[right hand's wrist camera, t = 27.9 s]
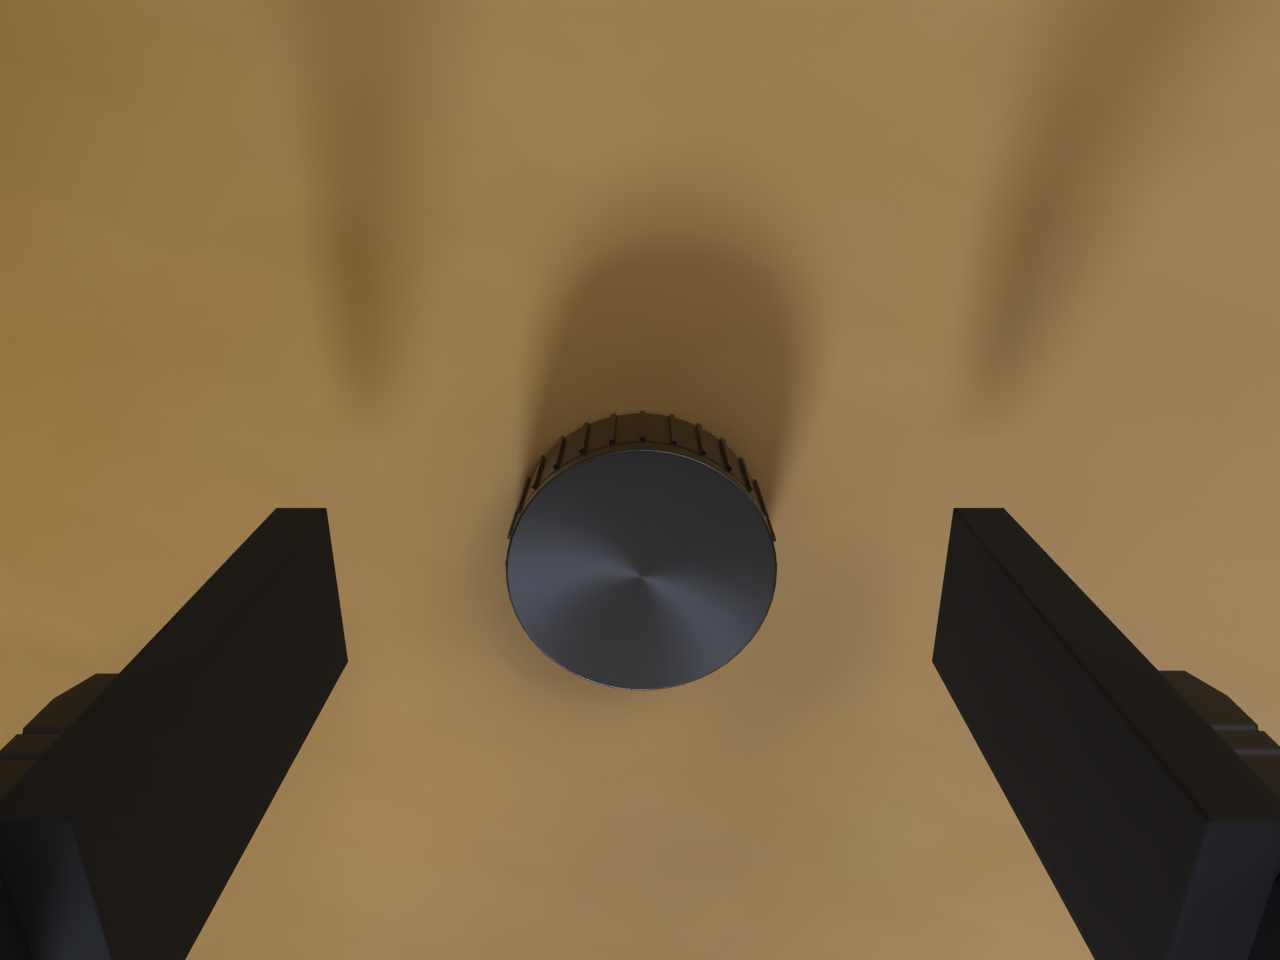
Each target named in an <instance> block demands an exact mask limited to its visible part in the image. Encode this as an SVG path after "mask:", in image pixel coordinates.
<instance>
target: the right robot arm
mask: <svg viewBox="0 0 1280 960" xmlns="http://www.w3.org/2000/svg"><path fill="white" fill-rule="evenodd" d="M347 662H348V658H347V651H346V644H345V637H344V630H343V623H342V616H341V609H340V602H339V594H338V587H337V580H336V573H335V566H334V559H333V552H332V545H331V538H330V531H329V524H328V517H327V509H326V508H276V509H275V510H274V511H273V512H272V513H271V514H270V515H269V517H268V518H267V519H266V520H265V521H264V522H263V523H262V524H261V525H260V526H259V527H258V528H257V529H256V530H255V531H254V532H253V533H252V534H251V535H250V536H249V538H248V539H247V540H246V541H245V542H244V543H243V544H242V545H241V546H240V547H239V548H238V549H237V550H236V551H235V552H234V553H233V554H232V555H231V556H230V558H229V559H228V560H227V561H226V562H225V563H224V564H223V565H222V566H221V567H220V568H219V569H218V570H217V571H216V572H215V573H214V574H213V575H212V576H211V577H210V579H209V580H208V581H207V582H206V583H205V584H204V585H203V586H202V587H201V588H200V589H199V590H198V591H197V592H196V593H195V594H194V595H193V596H192V597H191V599H190V600H189V601H188V602H187V603H186V604H185V605H184V606H183V607H182V608H181V609H180V610H179V611H178V612H177V613H176V614H175V615H174V616H173V617H172V618H171V620H170V621H169V622H168V623H167V624H166V625H165V626H164V627H163V628H162V629H161V630H160V631H159V632H158V633H157V634H156V635H155V636H154V637H153V638H152V640H151V641H150V642H149V643H148V644H147V645H146V646H145V647H144V648H143V649H142V650H141V651H140V652H139V653H138V654H137V655H136V656H135V657H134V658H133V659H132V661H131V662H130V663H129V664H128V665H127V666H126V667H125V668H124V669H123V670H122V671H121V672H120V673H119V674H95V675H93V676H91V677H90V678H88V679H86V680H84V681H83V682H81V683H79V684H78V685H76V686H74V687H73V688H71V689H69V690H68V691H66V692H64V693H62V694H61V695H59V696H57V697H56V698H54V699H53V700H52V701H51V702H50V703H49V704H48V705H47V706H46V707H45V708H43V709H42V710H41V711H40V712H39V713H38V714H37V715H36V716H35V717H34V718H33V719H32V720H31V721H30V722H29V723H28V724H27V725H26V726H25V727H24V728H23V733H22V734H17V735H16V736H15V737H14V738H13V739H12V740H11V741H10V742H9V743H8V744H7V745H6V746H5V747H4V748H3V749H2V750H0V960H185V959H186V957H187V955H188V954H189V952H190V950H191V948H192V946H193V944H194V943H195V941H196V939H197V937H198V935H199V933H200V932H201V930H202V928H203V926H204V924H205V922H206V921H207V919H208V917H209V915H210V913H211V911H212V910H213V908H214V906H215V904H216V902H217V900H218V899H219V897H220V895H221V893H222V891H223V889H224V888H225V886H226V884H227V882H228V880H229V878H230V877H231V875H232V873H233V871H234V869H235V867H236V866H237V864H238V862H239V860H240V858H241V856H242V855H243V853H244V851H245V849H246V847H247V845H248V844H249V842H250V840H251V838H252V836H253V834H254V833H255V831H256V829H257V827H258V825H259V823H260V822H261V820H262V818H263V816H264V814H265V812H266V811H267V809H268V807H269V805H270V803H271V801H272V800H273V798H274V796H275V794H276V792H277V790H278V789H279V787H280V785H281V783H282V781H283V779H284V778H285V776H286V774H287V772H288V770H289V768H290V767H291V765H292V763H293V761H294V759H295V757H296V756H297V754H298V752H299V750H300V748H301V746H302V745H303V743H304V741H305V739H306V737H307V735H308V734H309V732H310V730H311V728H312V726H313V724H314V723H315V721H316V719H317V717H318V715H319V713H320V712H321V710H322V708H323V706H324V704H325V702H326V701H327V699H328V697H329V695H330V693H331V691H332V690H333V688H334V686H335V684H336V682H337V680H338V679H339V677H340V675H341V673H342V671H343V669H344V668H345V666H346V664H347ZM932 662H933V664H934V666H935V668H936V669H937V671H938V673H939V675H940V677H941V679H942V680H943V682H944V684H945V686H946V688H947V690H948V691H949V693H950V695H951V697H952V699H953V701H954V702H955V704H956V706H957V708H958V710H959V712H960V713H961V715H962V717H963V719H964V721H965V723H966V724H967V726H968V728H969V730H970V732H971V734H972V735H973V737H974V739H975V741H976V743H977V745H978V746H979V748H980V750H981V752H982V754H983V756H984V757H985V759H986V761H987V763H988V765H989V767H990V768H991V770H992V772H993V774H994V776H995V778H996V779H997V781H998V783H999V785H1000V787H1001V789H1002V790H1003V792H1004V794H1005V796H1006V798H1007V800H1008V801H1009V803H1010V805H1011V807H1012V809H1013V811H1014V812H1015V814H1016V816H1017V818H1018V820H1019V822H1020V823H1021V825H1022V827H1023V829H1024V831H1025V833H1026V834H1027V836H1028V838H1029V840H1030V842H1031V844H1032V845H1033V847H1034V849H1035V851H1036V853H1037V855H1038V856H1039V858H1040V860H1041V862H1042V864H1043V866H1044V867H1045V869H1046V871H1047V873H1048V875H1049V877H1050V878H1051V880H1052V882H1053V884H1054V886H1055V888H1056V889H1057V891H1058V893H1059V895H1060V897H1061V899H1062V900H1063V902H1064V904H1065V906H1066V908H1067V910H1068V911H1069V913H1070V915H1071V917H1072V919H1073V921H1074V922H1075V924H1076V926H1077V928H1078V930H1079V932H1080V933H1081V935H1082V937H1083V939H1084V941H1085V943H1086V944H1087V946H1088V948H1089V950H1090V952H1091V954H1092V955H1093V957H1094V959H1095V960H1280V746H1279V745H1278V744H1277V743H1276V742H1275V741H1274V740H1272V739H1271V738H1270V737H1269V736H1268V735H1267V734H1266V733H1265V732H1264V731H1259V730H1258V725H1257V724H1256V723H1255V722H1254V721H1253V720H1252V719H1251V718H1250V717H1249V716H1248V715H1247V714H1246V713H1245V712H1244V711H1243V710H1242V709H1241V708H1239V707H1238V706H1237V705H1236V704H1235V703H1234V702H1233V701H1232V700H1231V699H1230V698H1229V697H1228V696H1227V695H1225V694H1223V693H1222V692H1220V691H1218V690H1217V689H1215V688H1213V687H1211V686H1210V685H1208V684H1206V683H1205V682H1203V681H1201V680H1200V679H1198V678H1196V677H1194V676H1193V675H1191V674H1189V673H1188V672H1186V671H1158V670H1157V669H1156V668H1155V667H1154V666H1153V665H1152V664H1151V663H1150V662H1149V661H1148V659H1147V658H1146V657H1145V656H1144V655H1143V654H1142V653H1141V652H1140V651H1139V650H1138V649H1137V648H1136V647H1135V646H1134V645H1133V644H1132V643H1131V642H1130V641H1129V639H1128V638H1127V637H1126V636H1125V635H1124V634H1123V633H1122V632H1121V631H1120V630H1119V629H1118V628H1117V627H1116V626H1115V625H1114V624H1113V623H1112V622H1111V621H1110V620H1109V618H1108V617H1107V616H1106V615H1105V614H1104V613H1103V612H1102V611H1101V610H1100V609H1099V608H1098V607H1097V606H1096V605H1095V604H1094V603H1093V602H1092V601H1091V600H1090V598H1089V597H1088V596H1087V595H1086V594H1085V593H1084V592H1083V591H1082V590H1081V589H1080V588H1079V587H1078V586H1077V585H1076V584H1075V583H1074V582H1073V581H1072V580H1071V579H1070V577H1069V576H1068V575H1067V574H1066V573H1065V572H1064V571H1063V570H1062V569H1061V568H1060V567H1059V566H1058V565H1057V564H1056V563H1055V562H1054V561H1053V560H1052V559H1051V557H1050V556H1049V555H1048V554H1047V553H1046V552H1045V551H1044V550H1043V549H1042V548H1041V547H1040V546H1039V545H1038V544H1037V543H1036V542H1035V541H1034V540H1033V539H1032V538H1031V536H1030V535H1029V534H1028V533H1027V532H1026V531H1025V530H1024V529H1023V528H1022V527H1021V526H1020V525H1019V524H1018V523H1017V522H1016V521H1015V520H1014V519H1013V518H1012V516H1011V515H1010V514H1009V513H1008V512H1007V511H1006V510H1005V509H1004V508H954V510H953V517H952V524H951V531H950V538H949V545H948V552H947V559H946V566H945V573H944V580H943V587H942V595H941V602H940V609H939V616H938V623H937V630H936V637H935V644H934V651H933V658H932Z"/></svg>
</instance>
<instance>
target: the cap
mask: <svg viewBox="0 0 1280 960" xmlns="http://www.w3.org/2000/svg"><path fill="white" fill-rule="evenodd" d="M507 538H508V539H510V543H509V547H508V551H507V559H506V578H507V587H508V592H509V597H510V600H511V603H512V606H513V609H514V611H515V614H516V616H517V618H518V620H519V622H520V623H521V625H522V627H523V629H524V630H525V632H526V633H527V634H528V636H529V637H530V639H531V640H532V641H533V642H534V643H535V644H536V646H537V647H538V648H539V649H540V650H541V651H542V652H543V653H544V654H545V655H547V656H548V657H549V658H550V659H551V660H553V661H554V662H555V663H556V664H558V665H559V666H561V667H563V668H564V669H566V670H567V671H569V672H571V673H573V674H575V675H577V676H579V677H581V678H583V679H585V680H588V681H591V682H594V683H597V684H600V685H604V686H608V687H613V688H618V689H627V690H656V689H665V688H670V687H674V686H679V685H683V684H686V683H689V682H692V681H695V680H697V679H700V678H702V677H704V676H706V675H708V674H710V673H712V672H714V671H715V670H717V669H719V668H720V667H722V666H723V665H725V664H726V663H728V662H729V661H730V660H731V659H733V658H734V657H735V656H736V655H737V654H739V653H740V652H741V651H742V650H743V648H744V647H745V646H746V645H747V644H748V643H749V642H750V641H751V640H752V638H753V637H754V635H755V634H756V633H757V631H758V630H759V628H760V627H761V625H762V623H763V621H764V619H765V617H766V616H767V613H768V611H769V608H770V605H771V603H772V600H773V596H774V591H775V586H776V576H777V562H776V552H775V547H774V543H773V542H774V541H776V538H775V535H774V532H773V529H772V526H771V523H770V520H769V516H768V512H767V509H766V506H765V503H764V500H763V497H762V494H761V491H760V488H759V485H758V482H757V480H754V481H753V480H752V478H751V476H750V474H749V472H748V470H747V467H746V464H745V460H744V459H743V458H742V457H741V458H738V457H737V455H736V454H735V453H734V452H733V451H732V450H731V449H730V448H729V447H728V446H727V445H726V441H725V440H724V439H723V438H721V439H720V440H719V439H718V438H716V437H715V436H714V435H712V434H711V433H709V432H707V431H705V430H704V429H702V425H701V424H699V423H697V424H696V425H693V424H691V423H688V422H686V421H683V420H680V419H676V418H675V417H674V415H673V414H669V417H668V416H663V415H654V414H645V411H640V414H628V415H620V416H616V413H615V414H611V418H607V419H603V420H599V421H597V422H594V423H592V424H589V423H588V422H586V423H584V425H583V428H581V429H579V430H577V431H576V432H574V433H572V434H570V435H569V436H568V437H566V438H564V436H562V437H561V438H560V439H559V442H558V444H557V445H556V446H555V447H554V448H553V449H552V450H551V451H550V452H549V453H548V454H547V455H546V456H544V455H542V456H541V457H540V459H539V463H538V466H537V468H536V470H535V472H534V474H533V475H532V477H531V478H528V477H527V479H526V482H525V485H524V488H523V491H522V494H521V497H520V500H519V502H518V505H517V508H516V511H515V515H514V518H513V521H512V524H511V527H510V530H509V533H508V537H507Z"/></svg>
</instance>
